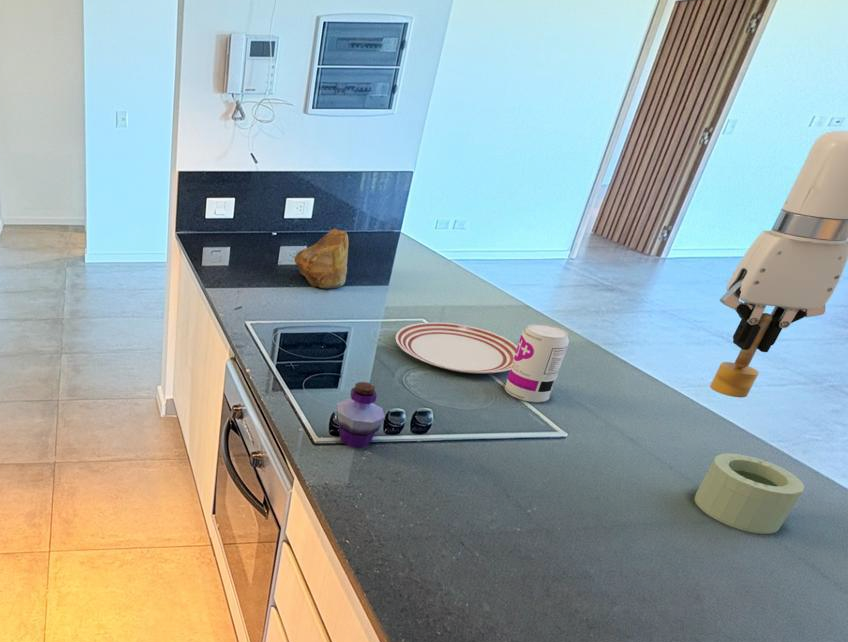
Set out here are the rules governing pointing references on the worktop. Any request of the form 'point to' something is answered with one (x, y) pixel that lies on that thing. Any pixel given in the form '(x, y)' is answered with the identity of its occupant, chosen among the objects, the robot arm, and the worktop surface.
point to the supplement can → (537, 362)
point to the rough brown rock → (325, 260)
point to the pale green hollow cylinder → (748, 493)
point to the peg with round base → (740, 367)
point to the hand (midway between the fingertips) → (749, 346)
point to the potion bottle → (359, 416)
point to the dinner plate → (457, 347)
